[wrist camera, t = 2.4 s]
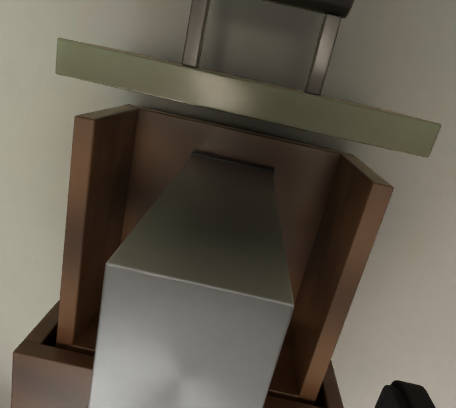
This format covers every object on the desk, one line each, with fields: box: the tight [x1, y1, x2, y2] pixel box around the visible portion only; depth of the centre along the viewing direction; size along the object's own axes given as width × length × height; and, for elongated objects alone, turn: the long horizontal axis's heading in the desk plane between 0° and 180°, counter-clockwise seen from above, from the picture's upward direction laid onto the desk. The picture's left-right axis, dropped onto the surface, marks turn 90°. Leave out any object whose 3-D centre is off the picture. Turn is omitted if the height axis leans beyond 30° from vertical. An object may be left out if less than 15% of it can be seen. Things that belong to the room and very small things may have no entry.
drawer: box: [55, 0, 441, 406], centre depth 18 cm, size 18×13×7 cm
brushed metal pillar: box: [88, 150, 294, 408], centre depth 15 cm, size 5×4×12 cm
